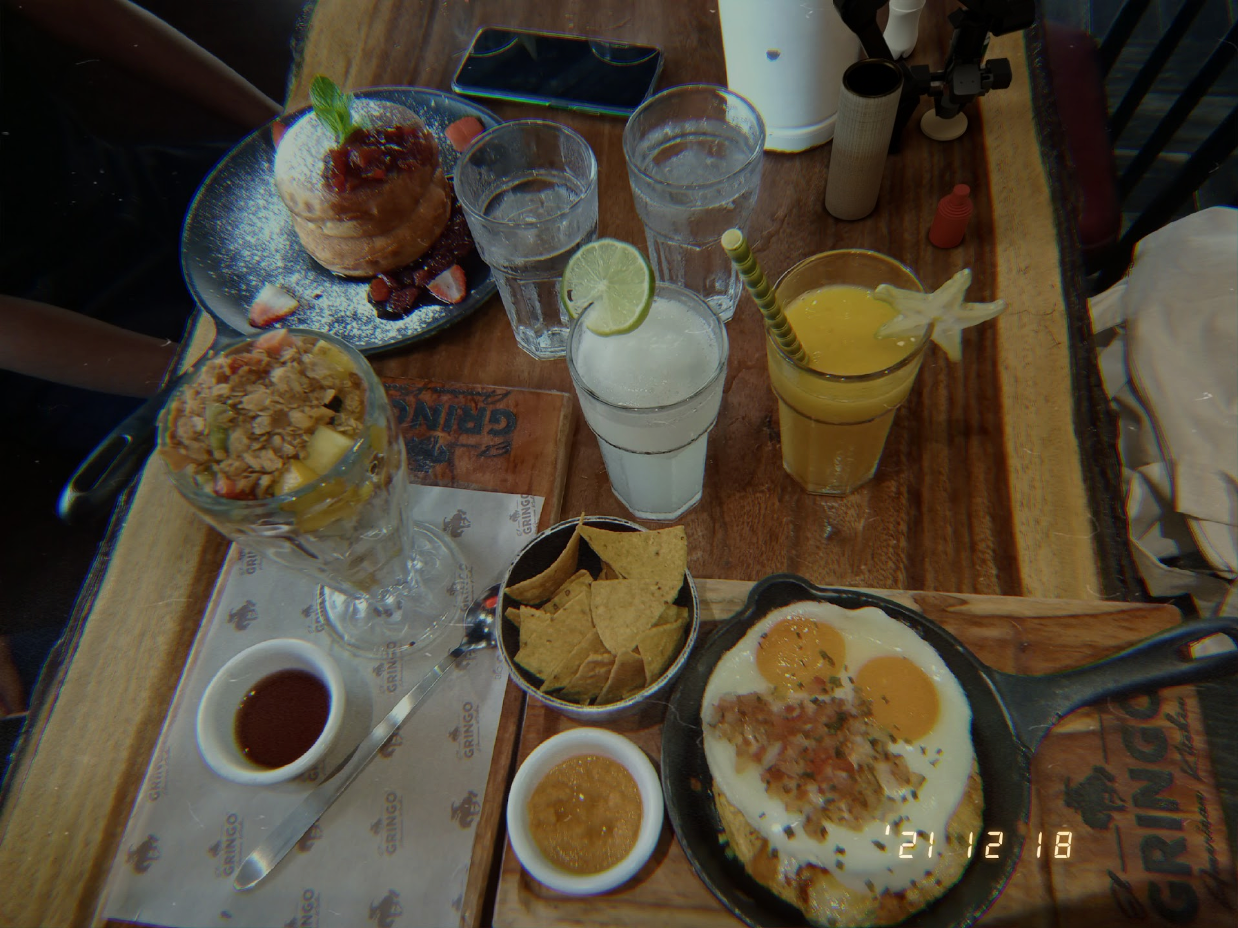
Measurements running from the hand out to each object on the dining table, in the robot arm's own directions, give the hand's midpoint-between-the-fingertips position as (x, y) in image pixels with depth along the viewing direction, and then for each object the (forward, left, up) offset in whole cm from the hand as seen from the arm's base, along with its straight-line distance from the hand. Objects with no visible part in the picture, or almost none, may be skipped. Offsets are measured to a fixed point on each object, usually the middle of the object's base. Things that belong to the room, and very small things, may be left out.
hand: (946, 114), depth 149 cm
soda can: (+5, +11, -3) cm, 12 cm away
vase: (-20, -20, -3) cm, 28 cm away
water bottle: (-7, +24, -3) cm, 25 cm away
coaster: (0, 0, -3) cm, 3 cm away
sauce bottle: (-3, -30, -3) cm, 30 cm away
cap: (0, 0, +3) cm, 3 cm away
